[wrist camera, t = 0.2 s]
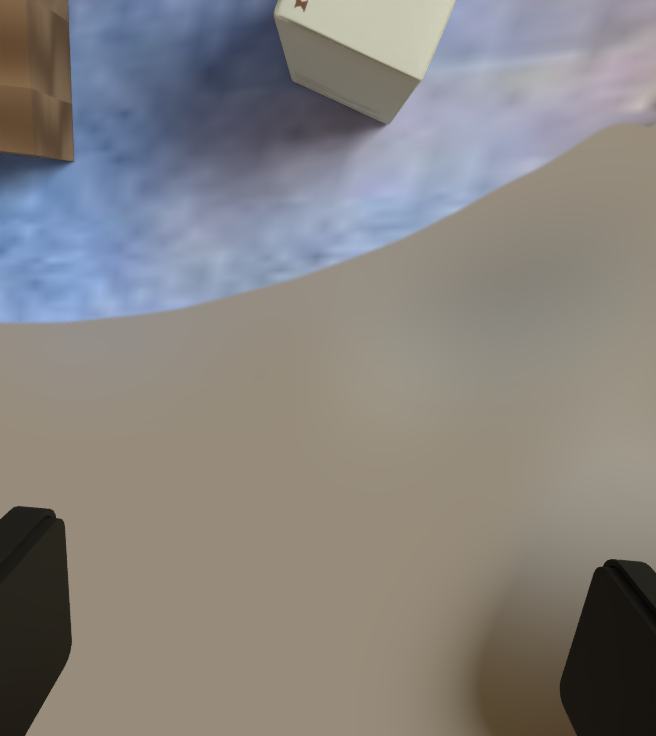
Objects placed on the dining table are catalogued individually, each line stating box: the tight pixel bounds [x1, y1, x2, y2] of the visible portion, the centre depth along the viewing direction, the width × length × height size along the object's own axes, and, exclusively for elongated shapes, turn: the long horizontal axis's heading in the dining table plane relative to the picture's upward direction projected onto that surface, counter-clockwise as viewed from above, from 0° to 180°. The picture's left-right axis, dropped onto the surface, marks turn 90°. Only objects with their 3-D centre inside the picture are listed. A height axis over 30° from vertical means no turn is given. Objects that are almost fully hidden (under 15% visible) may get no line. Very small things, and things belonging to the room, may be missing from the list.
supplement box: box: [274, 0, 456, 124], centre depth 28 cm, size 7×7×13 cm
